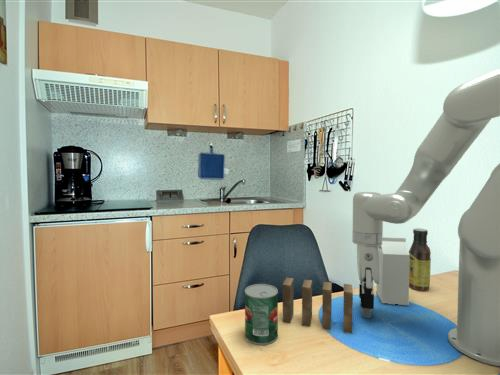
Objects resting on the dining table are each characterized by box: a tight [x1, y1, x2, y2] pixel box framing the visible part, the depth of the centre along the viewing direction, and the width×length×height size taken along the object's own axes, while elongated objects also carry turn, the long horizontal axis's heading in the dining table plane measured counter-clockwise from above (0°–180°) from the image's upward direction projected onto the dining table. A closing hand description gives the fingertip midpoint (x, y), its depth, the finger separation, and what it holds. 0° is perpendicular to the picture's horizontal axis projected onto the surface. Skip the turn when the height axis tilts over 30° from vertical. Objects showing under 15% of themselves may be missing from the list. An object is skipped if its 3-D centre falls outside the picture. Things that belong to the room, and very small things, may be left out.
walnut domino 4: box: [342, 283, 354, 334], centre depth 69 cm, size 2×5×10 cm, turn 162°
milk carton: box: [375, 236, 410, 306], centre depth 84 cm, size 7×7×19 cm
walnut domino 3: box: [321, 281, 333, 331], centre depth 71 cm, size 2×5×10 cm, turn 162°
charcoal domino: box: [361, 279, 372, 319], centre depth 76 cm, size 2×5×10 cm, turn 162°
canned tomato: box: [244, 283, 279, 346], centre depth 66 cm, size 8×8×11 cm
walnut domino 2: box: [301, 279, 313, 327], centre depth 72 cm, size 2×5×10 cm, turn 162°
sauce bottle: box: [408, 227, 432, 292], centre depth 92 cm, size 7×6×20 cm
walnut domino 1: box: [282, 277, 295, 324], centre depth 74 cm, size 2×5×10 cm, turn 162°
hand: (366, 302), depth 76 cm, fingers closed on charcoal domino, 4 cm apart
